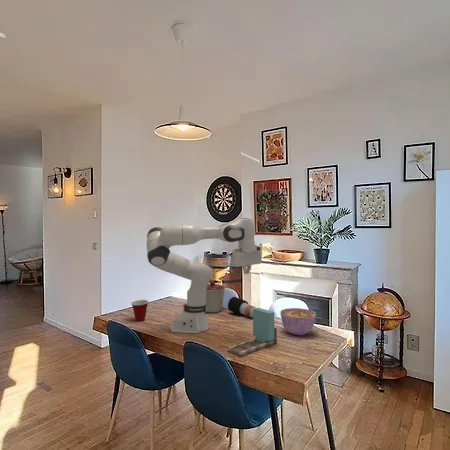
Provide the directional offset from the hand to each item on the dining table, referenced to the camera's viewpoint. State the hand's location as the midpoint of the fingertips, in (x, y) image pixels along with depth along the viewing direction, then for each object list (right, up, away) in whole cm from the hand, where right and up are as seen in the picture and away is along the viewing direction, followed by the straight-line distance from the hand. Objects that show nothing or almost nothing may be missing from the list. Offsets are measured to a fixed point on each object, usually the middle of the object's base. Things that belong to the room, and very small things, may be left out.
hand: (246, 273), depth 181 cm
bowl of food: (+30, -35, +9) cm, 47 cm away
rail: (+2, -35, -13) cm, 38 cm away
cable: (+5, -35, +40) cm, 53 cm away
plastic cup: (-66, -35, +33) cm, 82 cm away
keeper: (+8, -34, -7) cm, 36 cm away
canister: (-21, -35, +56) cm, 69 cm away
